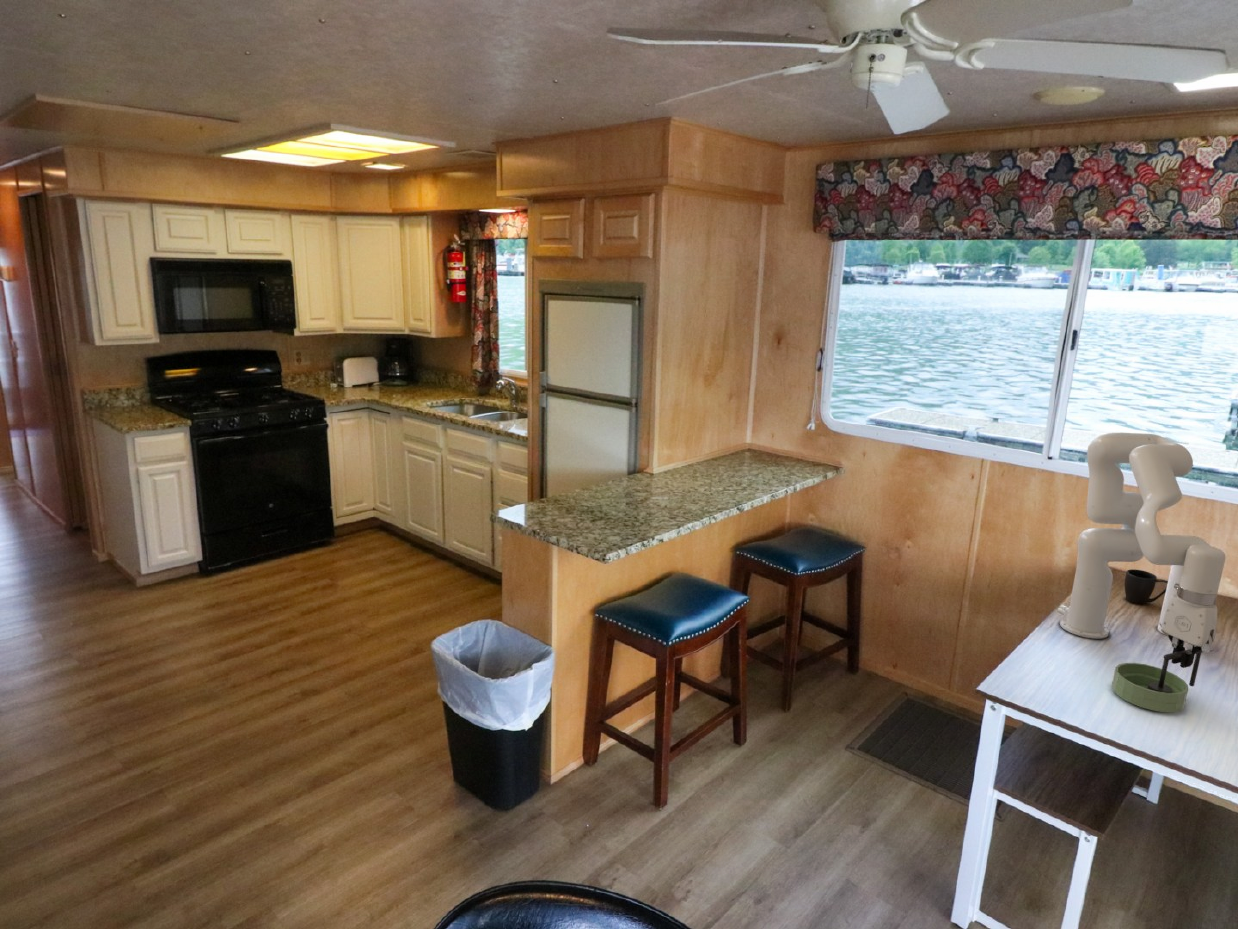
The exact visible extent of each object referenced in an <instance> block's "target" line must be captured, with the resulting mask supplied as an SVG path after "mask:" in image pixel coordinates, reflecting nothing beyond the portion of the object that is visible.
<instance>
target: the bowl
mask: <svg viewBox="0 0 1238 929" xmlns="http://www.w3.org/2000/svg"><path fill="white" fill-rule="evenodd" d="M1114 668H1115V669H1114V673H1113V677H1112V681H1111V682H1112V683H1111V689H1112V691H1113V692H1114V693H1115V694H1116V695H1117V696H1118V697H1120V698H1121V699H1123V700H1125V701H1126V702H1128V703H1130V704H1132V705H1135V706H1137V707H1140V708H1143V709H1146V710H1151V711H1153V712H1160V713H1177V712H1180V711H1182V710H1183V709H1184V708H1185V706H1186V701H1187V698H1188V693H1189V684H1187V682H1186V681H1185V680H1184V679H1183V678H1181V677H1180V676H1178V675H1176V674H1175V673H1173V672H1171V671H1169V670H1167V672H1166V676H1165V681H1164V684H1166V685H1168V686H1170V687H1171V688H1172V689H1173V692H1172V693H1164V692H1157V691H1153V690H1150V689H1147V688H1148V684H1149V683H1150V682H1159V680H1160V675H1161V671H1162V668H1160V667H1158V666H1154V665H1151V664H1146V663H1139V662H1123V663H1119V664H1118V665H1116V666H1115V667H1114Z"/></svg>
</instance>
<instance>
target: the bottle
mask: <svg viewBox="0 0 1238 929" xmlns="http://www.w3.org/2000/svg"><path fill="white" fill-rule="evenodd" d="M1183 567H1184V566H1179V565H1170V571H1169V575H1168V580H1167V581H1168V584H1167V583H1166V587H1167V588H1166V587H1165V589H1166V592H1165V593H1164V598H1163V602H1162V606H1161V611H1160V616H1159V622H1158V625H1157V631H1158V632H1159V633H1161V634H1163V635H1165V634H1164V633H1163V632H1162V631H1161V630H1162V622H1163V619H1164V615H1165V612H1166V610H1167V607H1168V605H1169V603H1170V600H1171V599H1172V597H1173V595H1175V594H1177V591H1178V590H1177V589H1175V588H1174V585H1175V584H1176V583H1177V584H1180V580H1181V576H1182V571H1183Z"/></svg>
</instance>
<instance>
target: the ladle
mask: <svg viewBox="0 0 1238 929" xmlns="http://www.w3.org/2000/svg"><path fill="white" fill-rule="evenodd" d="M1183 652H1186V649H1185V650H1184V651H1179V652H1175V653H1173V652H1171V653H1166V654H1164V655H1163V662H1162V667H1161V669H1162V671H1161V675H1160V680H1159V682H1150V683H1149V684H1148V688H1147V689H1150V690H1153V691H1157V692H1164V693H1172V692H1173V689H1172V688H1171V687H1170V686H1168V685H1166V684H1164V681H1165V676H1166V672H1167V671H1168V666H1169V662H1170V661H1172V659H1176V658H1180V657H1182V656H1183ZM1202 653H1203V651H1199V652H1197V653H1195V656H1194V660H1193V664H1192V665H1193V666H1192V670H1191V673H1190V678H1189V684H1188V686H1189V687H1194V686H1195V683H1196V680H1197V673H1198V670H1199V665H1200V661H1201V656H1202Z"/></svg>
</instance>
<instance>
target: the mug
mask: <svg viewBox="0 0 1238 929" xmlns="http://www.w3.org/2000/svg"><path fill="white" fill-rule="evenodd" d="M1156 583H1166V585H1167V584H1168V580H1165V579H1158V578H1157V576H1156V574H1154V573H1151V572H1149V571H1146V570H1142V569H1134V568H1133V569H1127V571H1126V573H1125V578H1124V593H1125V594H1124V595H1125V600H1126V601H1127V602H1129V603H1130V604H1133V605H1139V606H1144V605H1146V604H1147V603H1148V604H1151V603H1154V602H1155V601H1156V600H1158V599H1159V598H1161V597H1162V596H1164V595H1165V593H1166V588H1167V586H1166V587H1165V588H1164V589H1163V590H1162V591H1161V592H1160V593H1159V594H1157V595H1156V596H1154V597H1151V596H1152V595H1153V592H1154V590H1155V587H1156Z"/></svg>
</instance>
